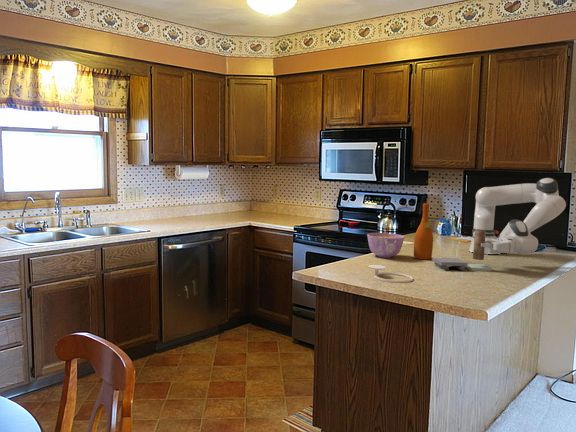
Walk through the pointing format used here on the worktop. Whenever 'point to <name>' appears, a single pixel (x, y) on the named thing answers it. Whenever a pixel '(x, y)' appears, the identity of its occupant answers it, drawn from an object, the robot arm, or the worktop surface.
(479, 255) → the walnut roller
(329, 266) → the worktop surface
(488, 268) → the board
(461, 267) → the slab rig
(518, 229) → the robot arm
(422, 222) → the wine bottle
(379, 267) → the hand towel holder
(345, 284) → the worktop surface
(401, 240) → the bowl of food
